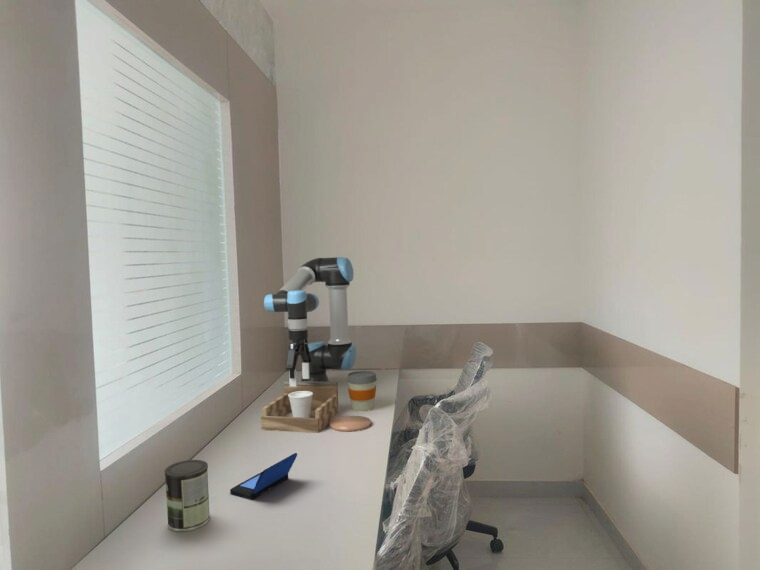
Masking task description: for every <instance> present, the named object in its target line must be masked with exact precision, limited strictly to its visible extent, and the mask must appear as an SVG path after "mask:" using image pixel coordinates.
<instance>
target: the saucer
mask: <svg viewBox="0 0 760 570" xmlns="http://www.w3.org/2000/svg"><path fill="white" fill-rule="evenodd" d="M370 425H371V426H372V420H371V418H369V417H366V416H362V415H345V416H339V417H336V418H335V417H334V418H333V419H332V420H331V421H330V422H329V427H330V429H331V430H332V431H333V430H334V431H337V432H341V433H342V432H343V433H344V432H345V433H346V432H347V433H350V432H352V431H353V432H359V431H358V430H360V431H363V429H364V430H366V428H367V429H368V427H369V426H370ZM371 426H370V427H371ZM370 427H369V428H370Z"/></svg>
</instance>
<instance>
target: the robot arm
mask: <svg viewBox="0 0 760 570" xmlns="http://www.w3.org/2000/svg"><path fill="white" fill-rule="evenodd" d="M353 280H354V268H353V265H352V262H351V260H350V259H349V258H348V257H345V256H344V257H343V256H338V257H336V256H335V257H316V258H314V259H311V260H309V261H306V262H305V263H304V264H302V265H300V266H299V268H298V269H297V270H296V273H295V274H294V276H292V277H291V278H290V279H289V280H288V281H287V282H286V283H285V284H284V285H283V286H282V287H281V288H280V289H279V290H278V291H277V292H276V293H274V294H273V293H270V294H267V295H265V296H264V299H263V306H264V307H263V308H264V309H265V311H266V312H268V313H270V312H271V313H287V319H288V320H287V325H288V340H290V341H292V343H289V344H288V352H287V359H286V361H287V362H286V367H285V369H286V371H288V374H289V375H288V377H289V380H288V381H289V384H290V386H291V387H296V386H297V381H298V380H297V369H296V367H297V364H298V359H299V356H300V358H301V371H302V372H301V373H302V376H301V379H300V381H316V382H330V380H329V378H328V375H327V374H328V373H327V370H339V371H340V370H341V371H343V370H346V371H347V370H351V369H353V367H354V365H355V362H356V358H357V347H356V346H355V344H353V342H352V340H351V339H350V337H349V319H348V317H349V316H348V313H349V312H348V293H347V292H348V290H347V289H348V288H349V287H350V286H351V285H350V283H351V282H352V281H353ZM314 283H325V288H327V289H328V300H329V303H328V305H329V309H328V310H329V327H330V328H329V329H330V334H329V335H330V339H329V340H328V341H327V344H326V342H325V341H315V342H310V343H308V341H309V340H308V337H309V333H308V327H309V326H308V325H309V324H308V313H309V312H313V311H315V310H317V308H319V304H320V300H319V297H318V296H317V295H316V294H314V293H309V292H307V291H306V290H305V289H306V288H307V287H308V286H310V285H311V286H312V284H314Z"/></svg>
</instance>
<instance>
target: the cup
mask: <svg viewBox="0 0 760 570" xmlns="http://www.w3.org/2000/svg"><path fill="white" fill-rule="evenodd" d="M312 395H313V393H312V392H309V391H297V392H292V393H290V394H288V396H289V400H290V404H291V409H292V412H291V414H292V417H299V418H311V413H310V410H311V403H312Z"/></svg>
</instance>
